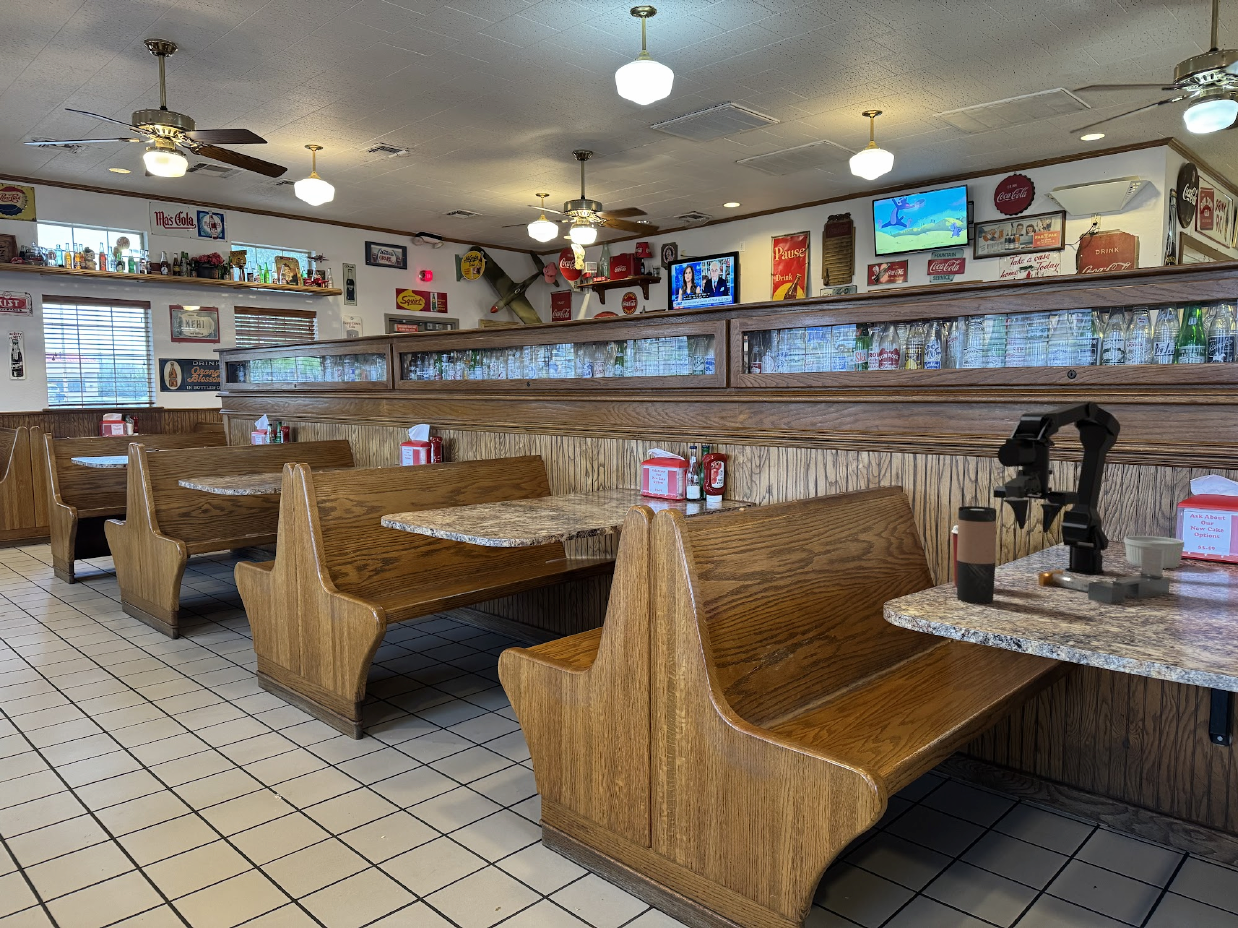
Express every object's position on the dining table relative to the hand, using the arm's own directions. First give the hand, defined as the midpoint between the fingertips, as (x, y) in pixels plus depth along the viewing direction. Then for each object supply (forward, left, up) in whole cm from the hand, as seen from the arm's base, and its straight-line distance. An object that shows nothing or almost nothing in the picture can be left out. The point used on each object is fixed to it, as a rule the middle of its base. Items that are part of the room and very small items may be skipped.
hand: (1033, 530), depth 194 cm
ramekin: (+2, +45, -12) cm, 47 cm away
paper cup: (-3, -19, -12) cm, 23 cm away
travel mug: (+7, -29, -12) cm, 32 cm away
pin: (+9, 0, -12) cm, 15 cm away
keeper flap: (+21, +12, -8) cm, 25 cm away
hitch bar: (+21, +4, -12) cm, 24 cm away
